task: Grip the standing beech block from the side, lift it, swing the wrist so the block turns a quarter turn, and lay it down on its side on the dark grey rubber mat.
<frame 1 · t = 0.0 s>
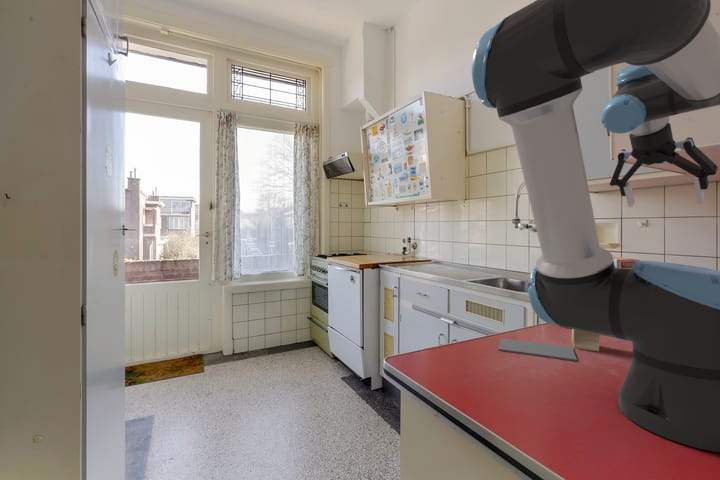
hand: (664, 202, 87), 36 cm above the worktop, tool tilted 35°, fingers open, 13 cm apart
cracker box: (617, 329, 98), on the worktop
mat: (535, 349, 80), on the worktop
block: (584, 346, 82), on the worktop
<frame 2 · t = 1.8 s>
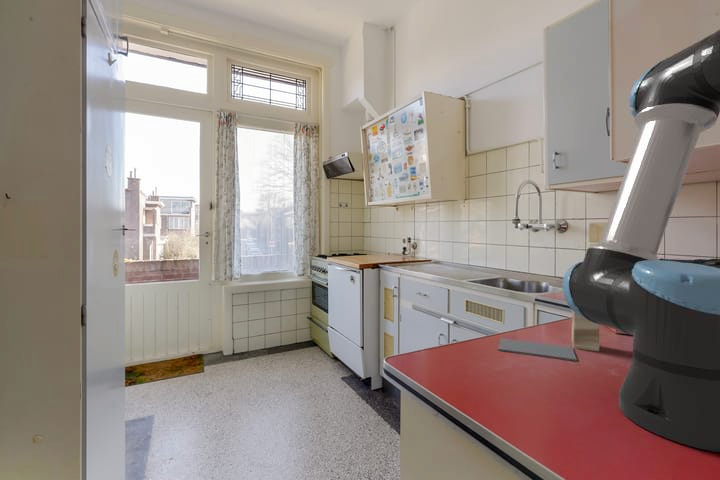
hand: (633, 266, 78), 20 cm above the worktop, tool horizontal, fingers open, 13 cm apart
nothing on the worktop moved.
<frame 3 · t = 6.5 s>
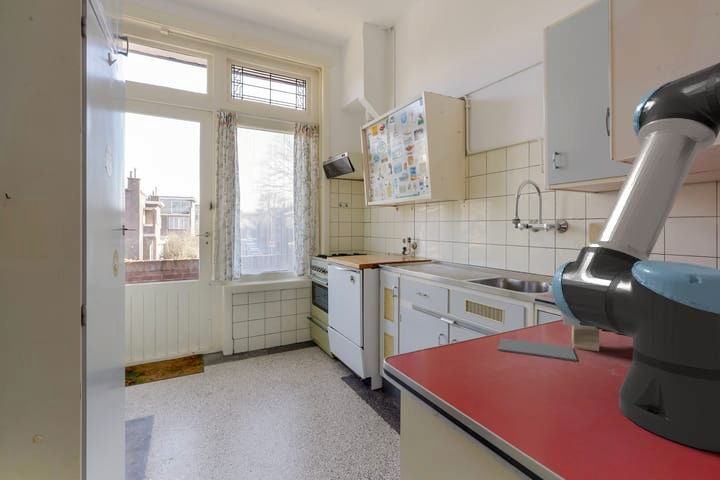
hand: (562, 316, 84), 7 cm above the worktop, tool horizontal, fingers closed on block, 5 cm apart
block: (584, 346, 82), on the worktop, touching gripper
everything else where it was.
when the fingers open (2 cm above the worktop, at t = 12.3 s): block drops 3 cm, resting on mat.
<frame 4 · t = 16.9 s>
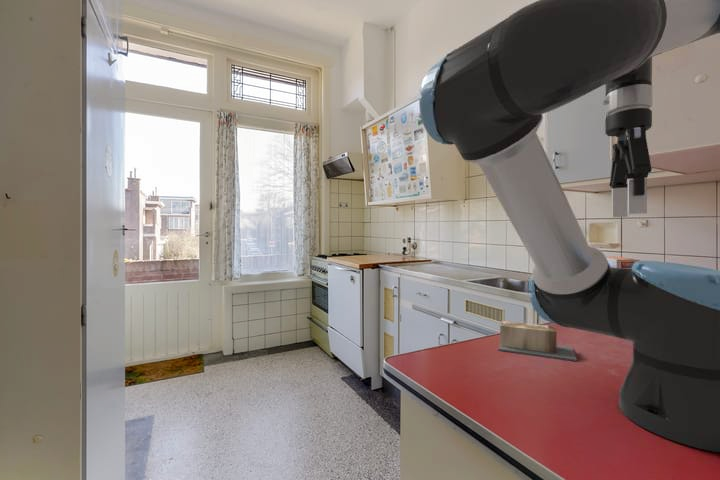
hand: (627, 215, 69), 32 cm above the worktop, tool pointing down, fingers open, 13 cm apart
block: (500, 333, 84), point 3 cm above the worktop, tilted 90°, touching mat
everything else where it was.
at the end: block tilted 90°; block inside the target area on the mat (8.2 cm from its centre), point 2.9 cm above the mat's base; the gripper is holding nothing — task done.
